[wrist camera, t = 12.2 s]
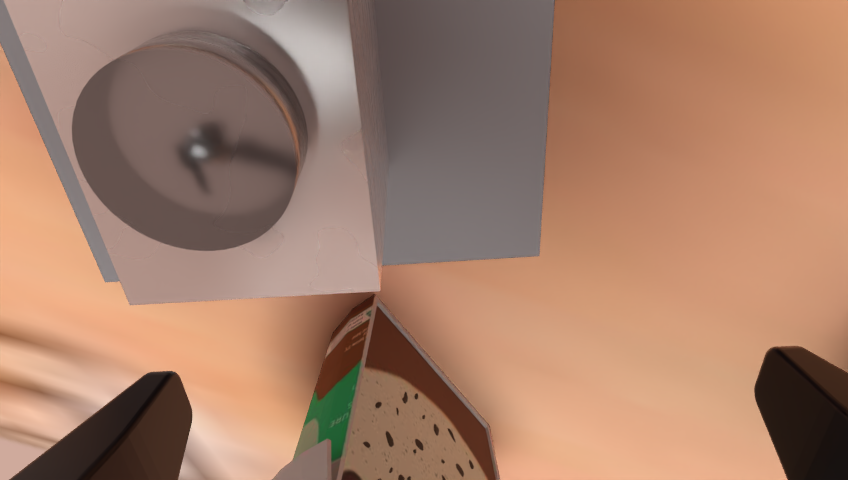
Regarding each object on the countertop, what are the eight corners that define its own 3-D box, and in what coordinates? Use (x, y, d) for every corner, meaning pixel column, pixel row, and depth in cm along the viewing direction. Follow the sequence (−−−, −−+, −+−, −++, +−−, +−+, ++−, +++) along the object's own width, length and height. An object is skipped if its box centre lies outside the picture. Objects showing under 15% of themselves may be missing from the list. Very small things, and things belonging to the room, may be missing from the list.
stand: (544, -312, 13) (576, -360, 11) (523, 210, 21) (539, 255, 18) (-46, -270, 13) (-153, -307, 11) (142, 234, 21) (105, 282, 18)
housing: (362, -122, 13) (319, -133, 7) (389, 165, 16) (377, 331, 10) (140, -109, 13) (-112, -107, 7) (216, 175, 16) (101, 346, 10)
